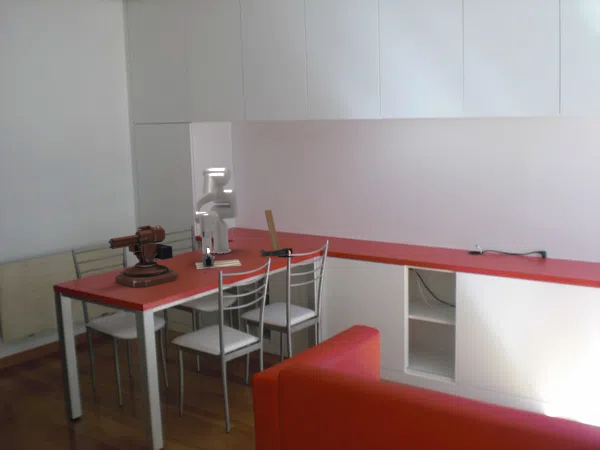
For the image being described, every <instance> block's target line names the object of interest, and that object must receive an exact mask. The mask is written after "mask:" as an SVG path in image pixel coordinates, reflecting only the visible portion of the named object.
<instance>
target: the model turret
mask: <svg viewBox="0 0 600 450" xmlns="http://www.w3.org/2000/svg"><path fill="white" fill-rule="evenodd" d="M165 239H166V231H165V229H164V228H163V227H162V226H161V225H154V226H151V225H142V226H137V227H136V232H135V233H134V234H131V235H126V236H120V237H114V238H110V239H108V243H109V245H110V246H109V249H111V250H115V249H121V248H122V249H123V248H128V252H131V253H132V254H133V256H135V257H136V259H137V260H138V261H139V262H136V263H135V264H134V266H131V267H127V268H125V270H123V271H120V273H118V274H117V275H116V276H115V278H114V279H115V283H116V282H117V284H119V285H123V284H124V286H128V287H131V288H149V287H154V286H158V285H162V284H163V285H164V284H166V283H171V282H176V281H178V279H179V273H178V272H177V271H176V270H174V269H171V268H169V266H167V265H165V264H158V262H157V261H155V259H157V260H162V261H164V260H169V259H173V254H174V253H173V246H172V245H167V244H162V242H164V241H165Z"/></svg>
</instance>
